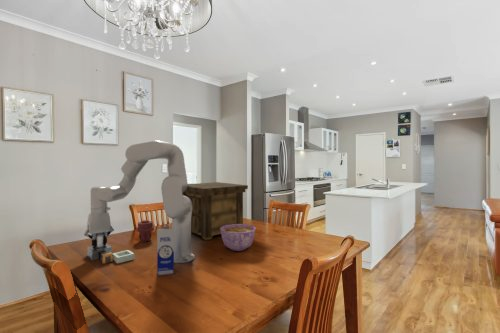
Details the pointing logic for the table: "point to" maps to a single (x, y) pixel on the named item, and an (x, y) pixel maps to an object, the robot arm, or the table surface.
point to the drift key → (105, 257)
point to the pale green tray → (123, 256)
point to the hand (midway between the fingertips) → (99, 245)
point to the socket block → (97, 251)
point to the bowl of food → (237, 236)
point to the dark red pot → (145, 230)
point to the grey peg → (99, 240)
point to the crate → (215, 206)
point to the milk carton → (165, 251)
